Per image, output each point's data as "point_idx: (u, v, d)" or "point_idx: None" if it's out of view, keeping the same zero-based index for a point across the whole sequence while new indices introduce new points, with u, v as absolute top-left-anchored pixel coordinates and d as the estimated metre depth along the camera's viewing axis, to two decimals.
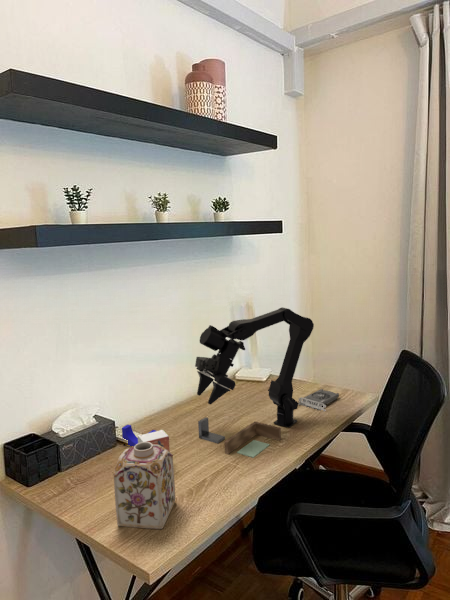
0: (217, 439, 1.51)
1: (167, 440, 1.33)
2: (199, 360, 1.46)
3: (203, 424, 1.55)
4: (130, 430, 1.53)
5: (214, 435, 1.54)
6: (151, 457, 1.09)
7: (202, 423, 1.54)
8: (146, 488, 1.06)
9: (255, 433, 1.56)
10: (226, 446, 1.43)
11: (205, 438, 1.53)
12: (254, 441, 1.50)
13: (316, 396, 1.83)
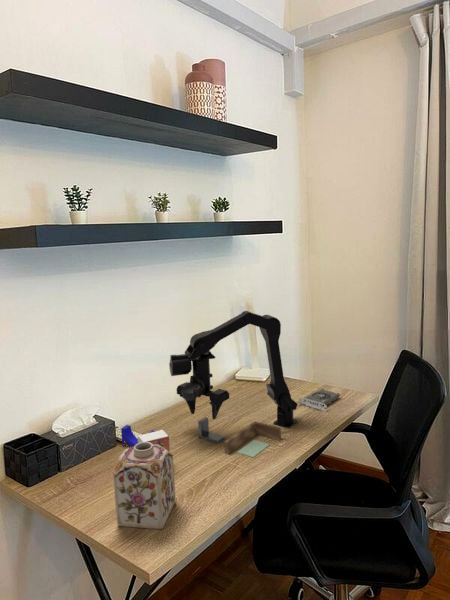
0: (217, 439, 1.51)
1: (167, 440, 1.33)
2: (188, 394, 1.46)
3: (203, 424, 1.55)
4: (129, 431, 1.52)
5: (214, 435, 1.54)
6: (151, 457, 1.09)
7: (202, 423, 1.54)
8: (146, 488, 1.06)
9: (255, 433, 1.56)
10: (226, 446, 1.43)
11: (205, 438, 1.53)
12: (254, 441, 1.50)
13: (317, 396, 1.83)
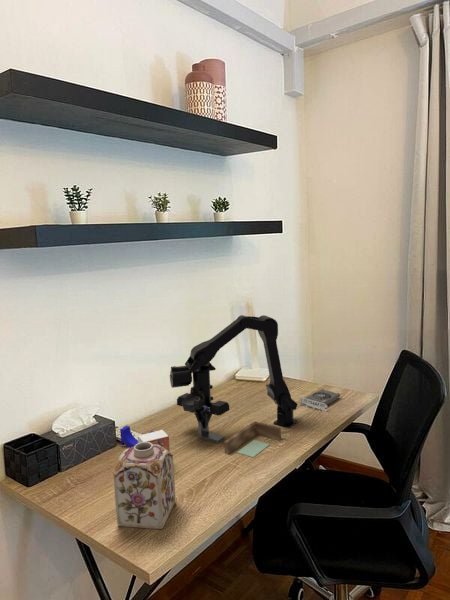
0: (217, 439, 1.51)
1: (167, 440, 1.33)
2: (188, 406, 1.47)
3: None
4: (128, 431, 1.52)
5: (214, 435, 1.54)
6: (151, 457, 1.09)
7: (202, 423, 1.54)
8: (146, 488, 1.06)
9: (255, 433, 1.56)
10: (226, 446, 1.43)
11: (205, 438, 1.53)
12: (254, 441, 1.50)
13: (317, 396, 1.83)
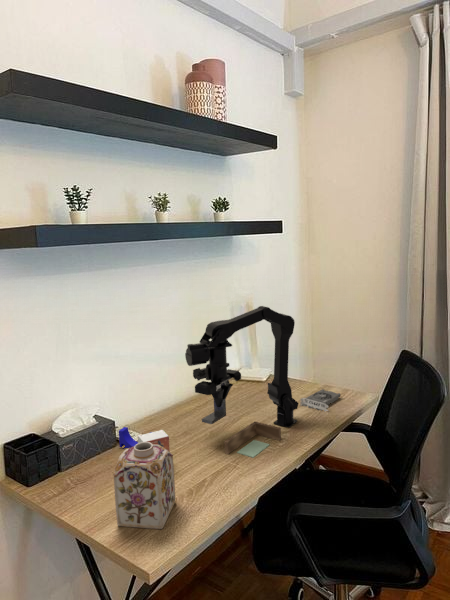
0: (205, 418, 1.48)
1: (167, 440, 1.33)
2: None
3: None
4: (127, 432, 1.51)
5: (215, 416, 1.49)
6: (151, 457, 1.09)
7: None
8: (146, 488, 1.06)
9: (255, 433, 1.56)
10: (226, 446, 1.43)
11: None
12: (254, 441, 1.50)
13: (318, 396, 1.83)
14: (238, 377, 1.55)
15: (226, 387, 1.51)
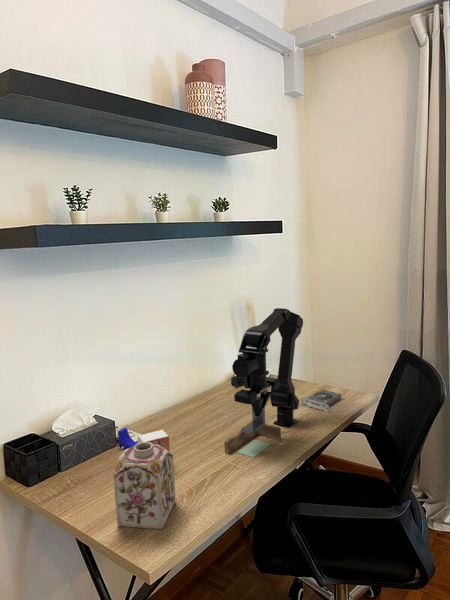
0: (244, 428, 1.43)
1: (167, 440, 1.33)
2: None
3: None
4: (126, 433, 1.50)
5: (254, 426, 1.44)
6: (151, 457, 1.09)
7: None
8: (146, 488, 1.06)
9: (255, 433, 1.56)
10: (226, 446, 1.43)
11: None
12: (254, 441, 1.50)
13: (318, 396, 1.83)
14: (277, 385, 1.50)
15: (265, 396, 1.46)
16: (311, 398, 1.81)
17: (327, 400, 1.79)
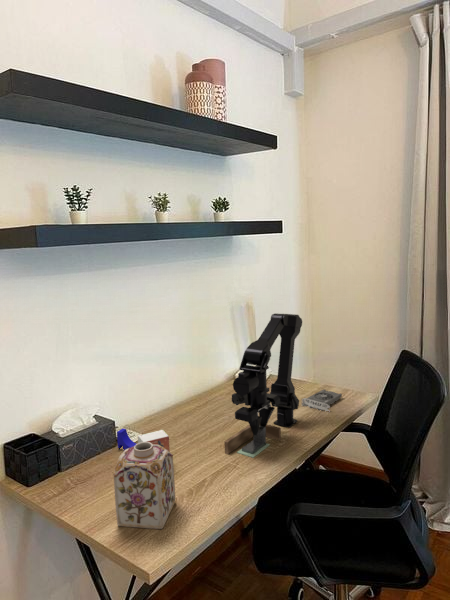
0: (245, 447, 1.44)
1: (167, 440, 1.33)
2: None
3: None
4: (125, 434, 1.50)
5: (255, 445, 1.45)
6: (151, 457, 1.09)
7: None
8: (146, 488, 1.06)
9: None
10: (226, 446, 1.43)
11: None
12: None
13: (319, 397, 1.83)
14: (277, 402, 1.51)
15: (268, 411, 1.48)
16: (312, 398, 1.81)
17: (328, 400, 1.79)
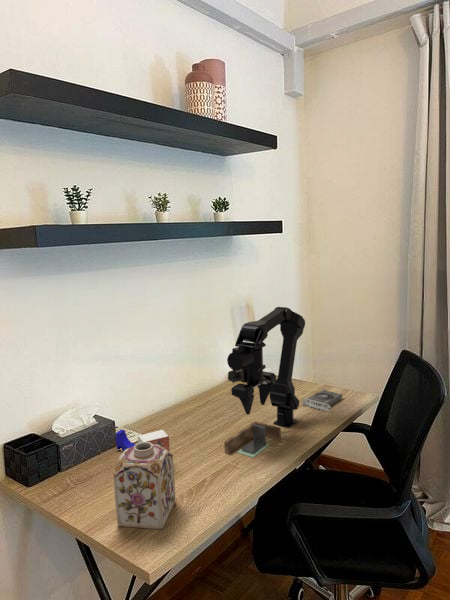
0: (245, 447, 1.44)
1: (167, 440, 1.33)
2: None
3: (256, 430, 1.48)
4: (124, 435, 1.49)
5: (255, 445, 1.45)
6: (151, 457, 1.09)
7: (254, 428, 1.48)
8: (146, 488, 1.06)
9: None
10: (226, 446, 1.43)
11: None
12: None
13: (320, 397, 1.82)
14: (273, 380, 1.51)
15: (268, 386, 1.50)
16: (312, 398, 1.81)
17: (328, 400, 1.78)
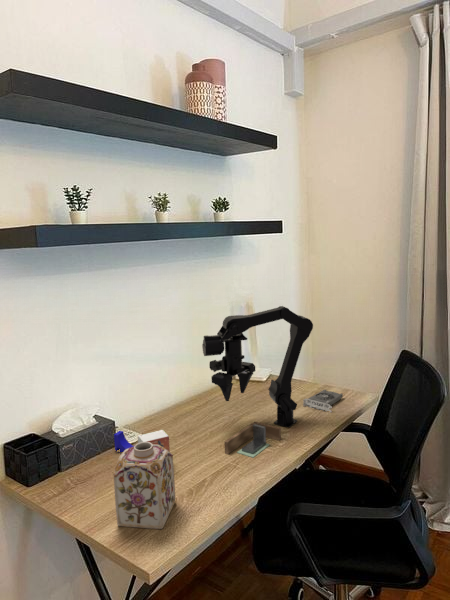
0: (245, 447, 1.44)
1: (167, 440, 1.33)
2: None
3: (256, 430, 1.48)
4: (122, 436, 1.48)
5: (255, 445, 1.45)
6: (151, 457, 1.09)
7: (254, 428, 1.48)
8: (146, 488, 1.06)
9: None
10: (226, 446, 1.43)
11: None
12: None
13: (320, 397, 1.82)
14: (252, 369, 1.62)
15: (247, 375, 1.61)
16: (313, 398, 1.81)
17: (329, 400, 1.78)
